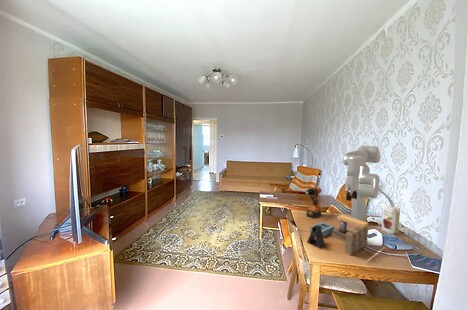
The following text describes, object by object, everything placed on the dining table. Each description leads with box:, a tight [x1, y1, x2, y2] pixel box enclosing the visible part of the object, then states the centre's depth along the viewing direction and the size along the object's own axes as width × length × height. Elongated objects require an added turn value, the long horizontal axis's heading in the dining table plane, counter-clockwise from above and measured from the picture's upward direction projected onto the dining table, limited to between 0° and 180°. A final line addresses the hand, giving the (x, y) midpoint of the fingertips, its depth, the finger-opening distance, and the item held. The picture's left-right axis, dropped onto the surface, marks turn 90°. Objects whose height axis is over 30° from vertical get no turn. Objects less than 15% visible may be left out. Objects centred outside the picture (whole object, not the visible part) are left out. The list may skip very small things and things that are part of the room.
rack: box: [309, 221, 336, 238], centre depth 139 cm, size 16×9×5 cm, turn 125°
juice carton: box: [381, 204, 401, 235], centre depth 143 cm, size 8×9×19 cm
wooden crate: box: [331, 225, 369, 256], centre depth 125 cm, size 23×18×13 cm
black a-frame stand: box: [306, 224, 326, 249], centre depth 125 cm, size 9×6×12 cm, turn 37°
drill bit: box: [339, 220, 348, 234], centre depth 132 cm, size 4×4×12 cm
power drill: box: [304, 186, 322, 219], centre depth 171 cm, size 22×7×25 cm, turn 129°
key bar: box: [336, 214, 369, 228], centre depth 127 cm, size 6×16×2 cm, turn 35°
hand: (351, 199), depth 136 cm, fingers open, 7 cm apart
